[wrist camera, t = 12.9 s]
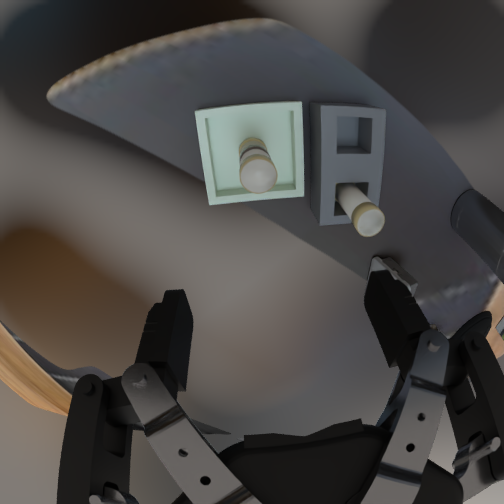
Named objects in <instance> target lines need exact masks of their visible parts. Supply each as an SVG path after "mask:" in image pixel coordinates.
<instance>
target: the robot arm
mask: <svg viewBox="0 0 504 504" xmlns="http://www.w3.org/2000/svg"><path fill="white" fill-rule="evenodd" d="M451 224H452V227H453V229H454V230H455V231H456V232H457V233H458V234H459V235H460V236H461V237H462V238H463V239H464V240H465V241H466V242H467V243H468V245H469V246H470V247H471V248H472V249H473V250H474V251H475V252H476V253H477V254H478V255H479V256H480V257H481V258H482V259H483V261H484V262H485V263H486V264H487V265H488V266H489V267H490V269H491V270H492V271H493V272H494V273H495V274H496V276H497V277H498V278H499V279H500V280H501V282H502V283H503V284H504V211H502V210H501V209H500V208H499V207H497V206H496V205H495V204H493V203H492V202H491V201H490V200H488V199H487V198H486V197H484V196H483V195H482V194H480V193H479V192H478V191H476V190H468V191H467V192H465V193H464V194H462V195H461V196H460V198H459V199H458V200H457V202H456V204H455V206H454V208H453V211H452V215H451ZM364 306H365V309H366V312H367V314H368V316H369V319H370V321H371V324H372V326H373V328H374V331H375V333H376V335H377V338H378V340H379V343H380V345H381V348H382V350H383V353H384V355H385V358H386V361H387V363H388V366H389V368H391V367H395V366H398V367H399V370H400V371H399V372H398V375H397V377H396V381H395V383H394V386H393V389H392V392H391V394H390V397H389V399H388V402H387V404H386V407H385V409H384V411H383V413H382V414H381V416H380V418H379V420H378V421H377V423H376V425H375V426H373V425H367V424H362V421H361V419H357V420H352V421H348V422H343V423H338V424H334V425H332V426H330V427H327V428H325V429H323V430H320V431H318V432H315V433H313V434H310V435H308V436H293V435H284V434H275V433H271V434H258V435H244V441H242V442H238V443H236V444H233V445H231V446H230V447H227V448H226V449H224V450H223V451H222V452H220V453H218V452H217V451H216V450H215V449H214V448H213V446H212V445H211V444H210V443H209V442H208V440H207V439H206V438H205V437H204V436H203V435H202V433H201V432H200V431H199V430H198V428H197V427H196V426H195V425H194V423H193V422H192V421H191V419H190V418H189V417H188V415H187V414H186V413H185V411H184V410H183V409H182V407H181V406H180V404H179V403H178V402H177V392H178V391H186V383H187V375H188V366H189V357H190V349H191V341H192V333H193V315H192V312H191V309H190V306H189V303H188V300H187V297H186V294H185V291H184V290H183V289H181V290H180V289H179V290H166V291H165V293H164V298H163V301H162V303H155V304H154V306H153V307H152V308H151V310H150V311H149V312H148V316H147V319H146V324H145V326H144V332H143V333H142V337H141V341H140V344H139V348H138V352H137V356H136V360H135V363H134V364H133V365H131V366H129V367H128V368H127V369H126V370H125V371H124V373H123V375H122V376H119V377H115V378H111V379H107V380H101V379H100V378H99V377H98V376H96V375H94V374H88V375H85V376H83V377H81V378H80V379H79V380H78V381H77V383H76V385H75V388H74V392H73V396H72V400H71V404H70V409H69V413H68V418H67V423H66V428H65V433H64V440H63V445H62V452H61V459H60V467H59V477H58V490H57V504H139V502H138V501H137V499H136V498H135V497H134V496H132V495H131V494H129V480H130V479H129V478H130V459H131V458H130V457H131V444H132V432H133V423H137V422H142V424H143V426H144V428H145V430H144V433H145V436H146V438H147V440H148V441H149V443H150V444H151V446H152V448H153V449H154V451H155V452H156V454H157V455H158V457H159V458H160V460H161V461H162V463H163V464H164V466H165V467H166V469H167V470H168V471H169V473H170V474H171V476H172V477H173V478H174V480H175V481H176V482H177V484H178V485H179V486H180V488H181V489H182V490H183V492H182V494H181V495H180V496H179V497H178V498H177V499H176V500H175V501H174V502H173V503H172V504H463V502H464V501H466V500H468V499H470V498H471V497H473V496H475V495H476V494H478V493H479V492H481V491H483V490H484V489H486V488H487V487H489V486H490V485H491V484H494V483H496V482H499V481H501V480H504V375H503V373H502V370H501V368H500V366H499V363H498V361H497V359H496V357H495V355H494V353H493V351H492V349H491V347H490V345H489V343H488V341H487V339H486V338H485V337H484V336H483V335H482V334H481V333H479V332H476V331H471V332H469V333H467V335H466V336H465V337H464V339H463V340H457V339H447V338H446V336H445V335H444V334H443V333H442V332H440V331H438V330H434V329H432V328H431V326H430V325H429V323H428V321H427V319H426V317H425V316H424V314H423V312H422V310H421V309H420V307H419V305H418V304H417V303H416V300H415V299H414V297H412V294H411V292H410V290H409V289H408V287H407V286H406V285H405V284H404V283H402V282H401V281H400V280H399V279H397V280H395V279H394V278H393V276H392V274H391V273H390V271H389V270H387V269H385V270H377V271H372V272H371V273H370V275H369V280H368V284H367V288H366V292H365V296H364ZM468 376H469V377H470V379H471V382H472V384H473V387H474V390H475V392H476V399H475V397H474V394H473V391H472V388H471V386H470V383H469V381H468V378H467V377H468ZM444 404H446V407H447V410H448V414H449V417H450V420H451V424H452V428H453V431H454V435H455V439H456V443H457V447H458V452H457V454H456V456H455V459H454V461H453V463H452V467H453V469H454V473H453V474H451V473H449V472H448V471H446V470H445V469H443V468H442V467H440V466H438V465H437V464H435V463H434V462H432V461H431V460H429V459H428V457H429V454H430V451H431V448H432V445H433V442H434V439H435V436H436V433H437V430H438V426H439V423H440V419H441V415H442V411H443V407H444Z"/></svg>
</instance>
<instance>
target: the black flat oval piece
mask: <svg viewBox="0 0 504 504" xmlns="http://www.w3.org/2000/svg"><path fill="white" fill-rule="evenodd" d="M491 322H492V314H491V313H490V312H489V311H485V312H482V313H480V314H478V315H476V316H475V317H473V318H472V319H471V320H469V321H468V322H467V323H466V324H464V325H463V326H462V327H461V328H460V329H459V330H458V331H457V332H456V333H455V335H454V336H453V337H451V338H450V339H457V340H463V339H464V337H465V336H466V335H467V333H469V332H471V331H476V332H479V333H481V334H482V335H483V336H484V337H485V338H486V336H487V334H488V332H489V330H490V328H491Z"/></svg>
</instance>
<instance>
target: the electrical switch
mask: <svg viewBox="0 0 504 504" xmlns="http://www.w3.org/2000/svg"><path fill="white" fill-rule="evenodd" d="M393 268H395V269H393ZM385 269H387V270H389V271H390V273H391V274H392V276H393V278H394V279H395V280H397V279H399V280H400V281H401V282H402V283H404V284H405V285H406V286H407V287H408V289H409V290H410V292H411V294H412V297H413V295H414V293H415V290H416V287H417V285H418V281H417V280H415V279H414V278H413V277H412V276H411V275H410V274H409V273H408V272H407V271H405V270H404V269H403V268H402V267H401V266H400V265H399V264H397V263H396V262H395V261H394V260H393V259H392V258H390V257H388V258H385V259H380V258H379V257H374V258H373V259H372V262H371V267H370V271H369V275H370V273H371V272H372V271H377V270H385ZM396 270H397V271H398V273H397V272H396ZM368 280H369V276H368ZM367 284H368V281H367ZM366 288H367V285H366ZM414 288H415V289H414ZM365 292H366V289H365Z"/></svg>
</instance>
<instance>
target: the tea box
mask: <svg viewBox="0 0 504 504" xmlns="http://www.w3.org/2000/svg"><path fill="white" fill-rule="evenodd" d="M496 329H497V331H498V332H499V334H500V335H501V337H502V339H503V340H504V317H503V318H502V320H501V321H500V322H499V324H498V325H497V327H496Z"/></svg>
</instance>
